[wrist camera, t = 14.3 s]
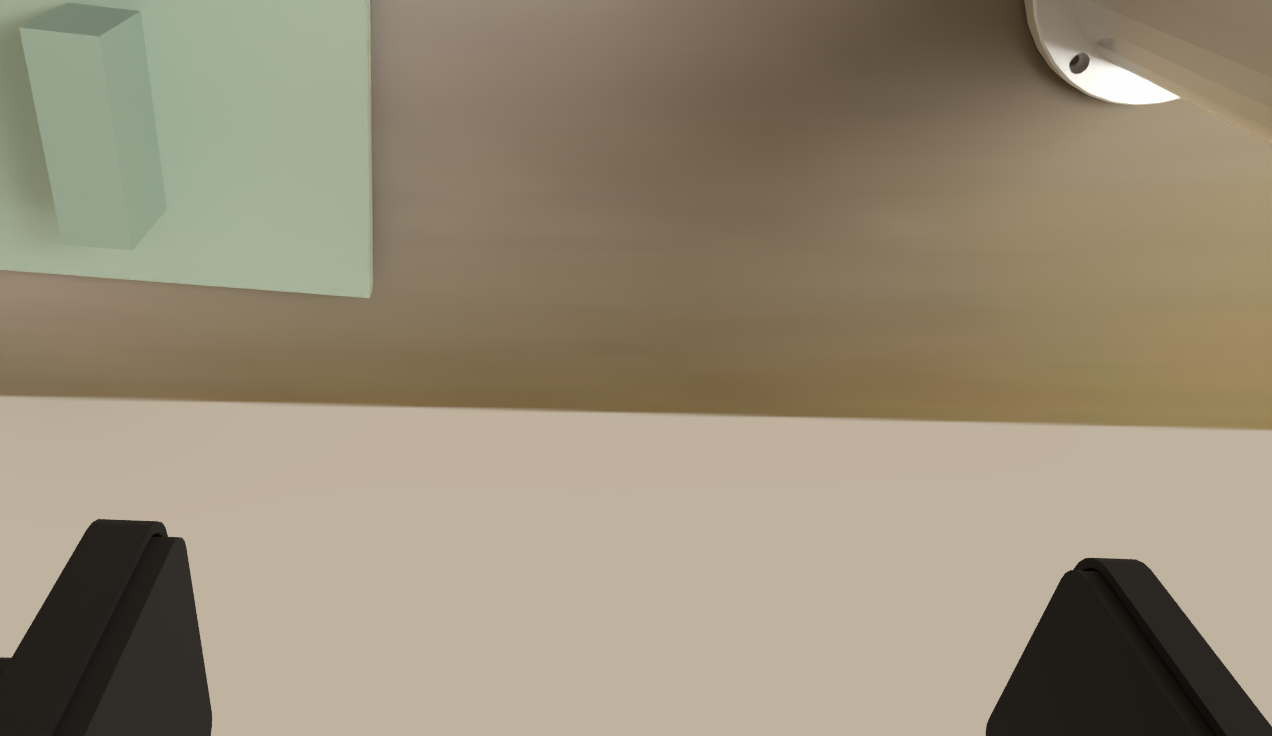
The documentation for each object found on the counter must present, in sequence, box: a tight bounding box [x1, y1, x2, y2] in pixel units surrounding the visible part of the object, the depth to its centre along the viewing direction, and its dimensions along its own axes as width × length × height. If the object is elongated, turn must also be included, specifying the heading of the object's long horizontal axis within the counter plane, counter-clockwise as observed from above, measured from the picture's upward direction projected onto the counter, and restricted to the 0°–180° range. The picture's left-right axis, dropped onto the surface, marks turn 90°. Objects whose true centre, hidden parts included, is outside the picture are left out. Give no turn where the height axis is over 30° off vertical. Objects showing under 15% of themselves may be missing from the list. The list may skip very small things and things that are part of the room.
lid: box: [0, 0, 373, 298], centre depth 36 cm, size 19×15×6 cm
